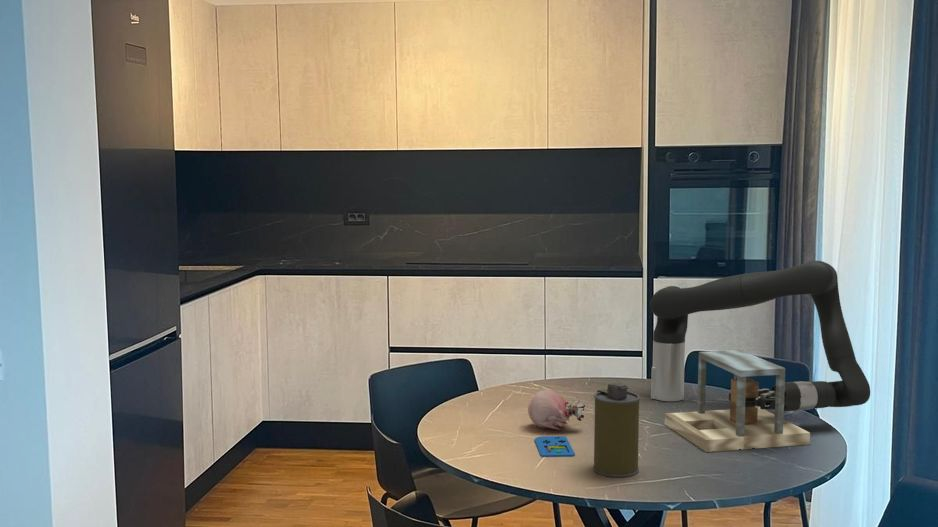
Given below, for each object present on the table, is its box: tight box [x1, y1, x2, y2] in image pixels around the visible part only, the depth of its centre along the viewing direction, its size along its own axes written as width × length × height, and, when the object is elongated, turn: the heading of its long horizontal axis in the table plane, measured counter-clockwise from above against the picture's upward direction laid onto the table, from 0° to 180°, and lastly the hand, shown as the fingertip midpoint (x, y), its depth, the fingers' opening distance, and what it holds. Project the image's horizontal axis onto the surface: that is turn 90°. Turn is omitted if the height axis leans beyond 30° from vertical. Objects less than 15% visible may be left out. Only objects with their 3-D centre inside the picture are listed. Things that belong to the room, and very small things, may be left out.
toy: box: [527, 389, 586, 432], centre depth 244 cm, size 12×11×15 cm
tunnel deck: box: [664, 349, 811, 453], centre depth 237 cm, size 28×24×20 cm
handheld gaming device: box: [534, 435, 576, 458], centre depth 228 cm, size 8×1×15 cm
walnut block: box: [729, 377, 760, 425], centre depth 238 cm, size 5×5×11 cm
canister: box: [592, 382, 641, 478], centre depth 210 cm, size 11×10×20 cm
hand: (735, 400), depth 237 cm, fingers closed on walnut block, 5 cm apart
